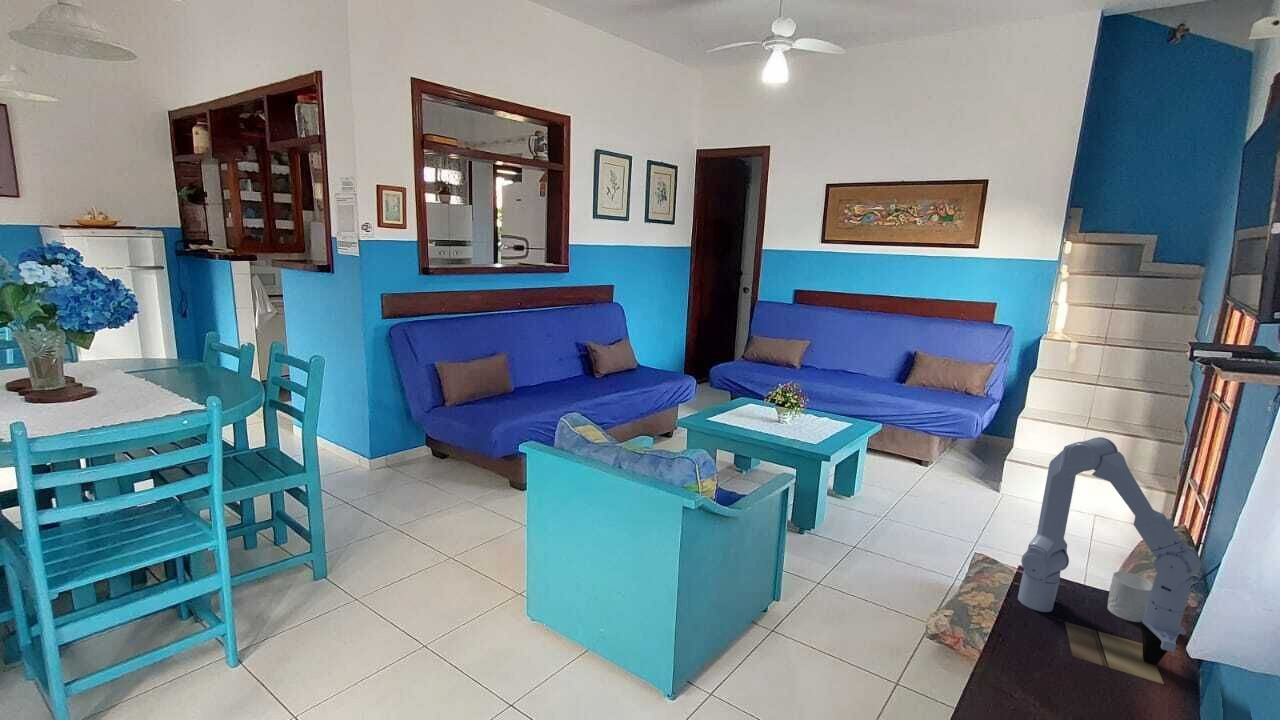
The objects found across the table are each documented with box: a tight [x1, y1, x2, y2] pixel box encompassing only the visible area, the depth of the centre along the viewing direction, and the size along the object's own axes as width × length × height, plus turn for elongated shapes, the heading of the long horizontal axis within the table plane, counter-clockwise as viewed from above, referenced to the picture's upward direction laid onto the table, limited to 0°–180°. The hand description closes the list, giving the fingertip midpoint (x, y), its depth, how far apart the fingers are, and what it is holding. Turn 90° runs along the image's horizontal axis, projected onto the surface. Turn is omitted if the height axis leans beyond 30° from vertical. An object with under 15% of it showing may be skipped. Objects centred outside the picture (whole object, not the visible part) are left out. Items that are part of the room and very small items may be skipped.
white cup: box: [1107, 571, 1153, 623], centre depth 151 cm, size 8×8×10 cm
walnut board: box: [1064, 621, 1108, 668], centre depth 139 cm, size 14×6×2 cm, turn 153°
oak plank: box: [1097, 631, 1165, 686], centre depth 135 cm, size 14×9×2 cm, turn 153°
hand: (1149, 662), depth 134 cm, fingers closed, pressing on oak plank
